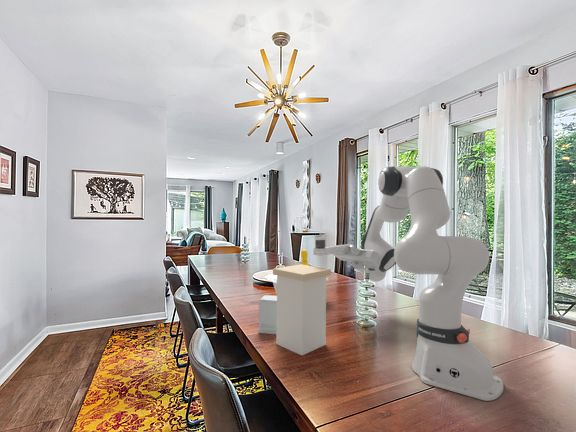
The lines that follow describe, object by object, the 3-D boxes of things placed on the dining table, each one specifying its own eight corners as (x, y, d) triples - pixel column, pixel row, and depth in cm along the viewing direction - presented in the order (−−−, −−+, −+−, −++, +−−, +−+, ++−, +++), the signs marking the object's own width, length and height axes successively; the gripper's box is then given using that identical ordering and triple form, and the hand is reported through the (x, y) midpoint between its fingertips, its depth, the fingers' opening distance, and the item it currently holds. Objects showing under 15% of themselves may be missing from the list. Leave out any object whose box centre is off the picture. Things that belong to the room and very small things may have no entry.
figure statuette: (319, 286, 194) (319, 251, 194) (308, 288, 191) (308, 251, 190) (305, 281, 210) (305, 248, 210) (294, 282, 207) (295, 248, 206)
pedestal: (329, 344, 108) (330, 269, 108) (302, 357, 99) (303, 274, 98) (300, 333, 118) (300, 264, 118) (272, 344, 108) (273, 268, 108)
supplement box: (277, 334, 117) (277, 300, 117) (258, 333, 118) (258, 299, 118) (281, 327, 124) (282, 295, 124) (263, 326, 126) (264, 294, 125)
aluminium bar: (355, 250, 128) (355, 237, 128) (320, 255, 112) (320, 240, 112) (347, 250, 131) (347, 236, 130) (312, 254, 115) (313, 239, 115)
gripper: (344, 251, 144) (327, 238, 135) (385, 256, 129) (370, 241, 121) (339, 264, 141) (323, 251, 133) (381, 271, 127) (365, 256, 118)
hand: (346, 246), depth 127 cm, fingers closed on aluminium bar, 3 cm apart
